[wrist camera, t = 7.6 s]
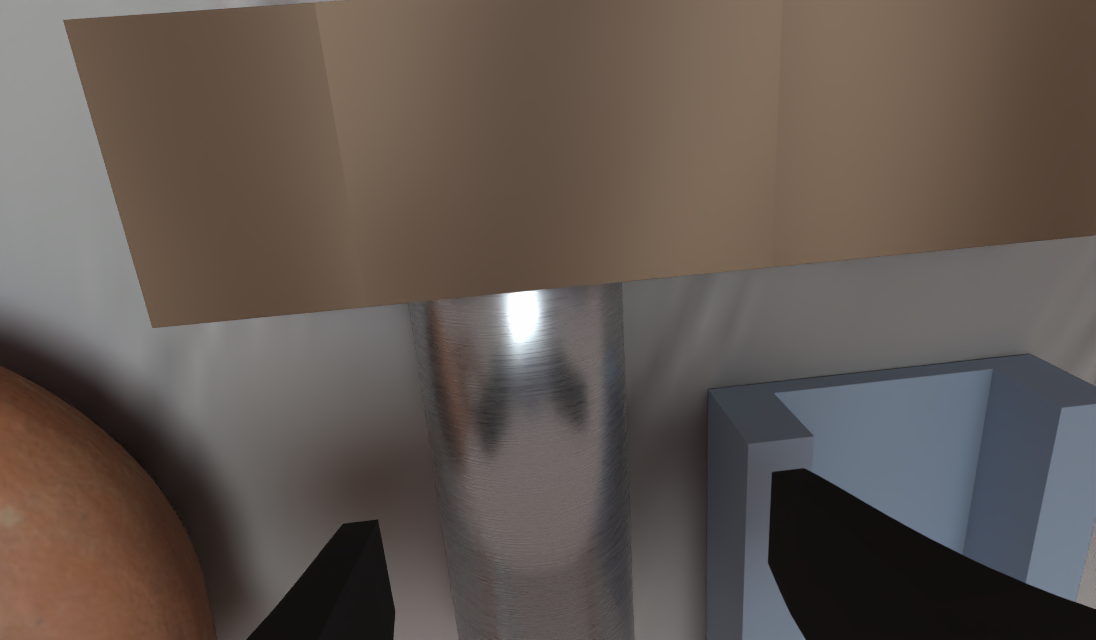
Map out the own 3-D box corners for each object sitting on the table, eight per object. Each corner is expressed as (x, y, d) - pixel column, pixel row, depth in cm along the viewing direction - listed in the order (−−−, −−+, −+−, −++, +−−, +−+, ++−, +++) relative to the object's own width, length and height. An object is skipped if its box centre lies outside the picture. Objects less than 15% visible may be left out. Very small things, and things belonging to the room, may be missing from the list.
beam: (1064, -18, 15) (1416, -74, 9) (1033, 166, 16) (1324, 212, 11) (232, 43, 14) (62, 20, 8) (273, 235, 15) (152, 327, 10)
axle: (631, -43, 13) (573, -84, 9) (647, 605, 19) (615, 750, 15) (428, -18, 15) (304, -45, 11) (499, 581, 20) (433, 708, 16)
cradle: (1030, 354, 18) (1123, 400, 16) (981, 619, 21) (1053, 696, 19) (708, 389, 18) (748, 444, 15) (705, 657, 21) (739, 741, 18)
